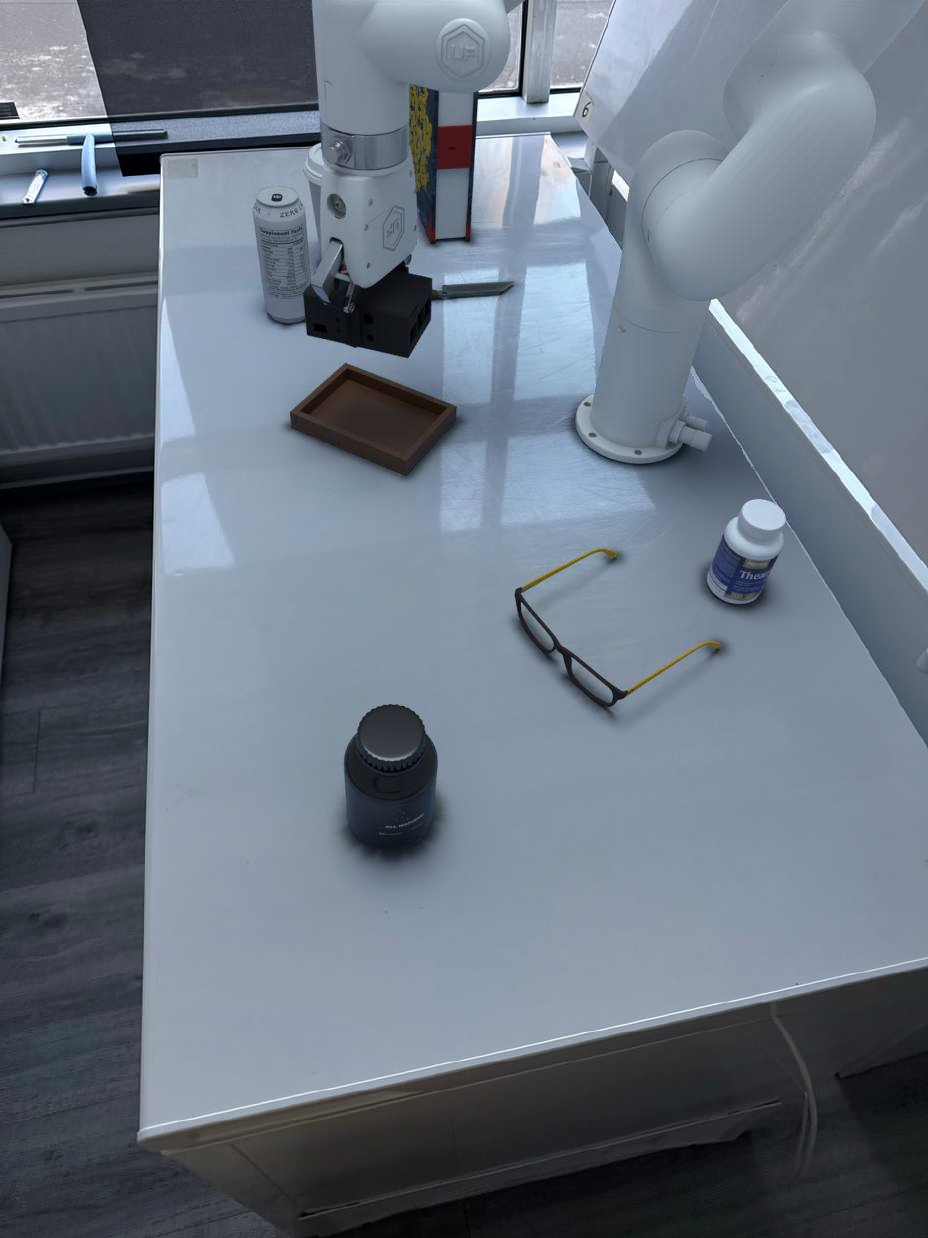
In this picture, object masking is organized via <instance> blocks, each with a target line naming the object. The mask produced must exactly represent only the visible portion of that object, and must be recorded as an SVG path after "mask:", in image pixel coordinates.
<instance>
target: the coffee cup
mask: <svg viewBox="0 0 928 1238" xmlns="http://www.w3.org/2000/svg"><path fill="white" fill-rule="evenodd" d="M304 161H305V162H304V163H303V169H302V172H303V176H304V177H305V178H306V179H307V180H308V185H309V192H310V199H311V204H312V209H313V216H314V217H313V218H314V222H315V229H316V236H317V239H318V240H317V241H318V247H319V253H320V261H321V260H322V252H321V236H320V198H321V180H322V168H323V165H324V161H323V159H322V148H321V142H319V143H317V144H314V145H313V146H312V147H311V148H310V149H309V151H308V155H307V157H306V158H305V160H304Z"/></svg>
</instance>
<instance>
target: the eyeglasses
mask: <svg viewBox="0 0 928 1238" xmlns="http://www.w3.org/2000/svg"><path fill="white" fill-rule="evenodd" d="M597 553H604V554H606V555H607V556H609V557H610V558H612V559H613V558H616V557H617V555H618V553H617V551H614V550H612V549H608V548H605V547H597V548H594V549H592V550H590V551H588V552H586V553H584V554H581V555H579V556H578V557H575V558H573V559H572V560H570V561H568V562H566V563H564V564H562V565H560V566H558V567H556V568H554V569H552V570H550V571H548V572H546V573H544V574H542V575H540V576H538V577H537V578H534V579H533V580H531V581H529V582H527V583H525V584H523V585H521V586H519V587H517V588H516V589H515V590H514V599H515V605H516V611H517V616H518V619H519V621H520V623H521V624H522V626H523V628H524V629H525V631H526V633H527V634H528V636H529V638H530V639H531V640H532V641H533V642H534V643H535V644H536V646H537V647H538V648H539V649H540V650H541V651H542V652H543V653H545V654H547V655H550V654H551V653H553V652H555V651H556V652H557V653H559V654H561V656H562V659H563V662H564V667H565V669H566V672H567V674H568V676H569V678H570V680H571V681H572V682H573V683H574V684H575V685H576V686H577V687H578V688H579V689H580V690H581V691H582V692H583V693H585V694H586V696H588V697H590V699H592V700H594V701H595V702H597V703H598V704H600V705H602V706H604V707H606V708H611V707H613V706H615V705H616V704H617V702H618V701H622V700H624V699H626V697H628V696H629V695H632V693H634V692H635V691H637V690H638V689H640V688H641V687H643V686H644V685H646V684H647V683H648V682H650V681H652V680H653V679H655V678H656V677H658V676H659V675H661V674H662V673H664V672H666V671H667V670H668V669H670V668H671V667H673V666H674V665H676V664H677V663H679V662H681V661H682V660H683V659H685V658H687V657H689V656H690V655H691V654H693V653H695V652H696V651H698V650H699V649H701V648H703V647H706V646H710V647H711V648H713V649H715V650H717V649H719V648H721V646H722V643H721V642H719V641H713V640H706V641H704V642H701V643H700V644H698V645H696V646H694V647H693V648H691V649H689V650H687V651H686V652H685V653H683V654H681V655H680V656H678V657H677V658H675V659H673V660H672V661H671V662H669V663H667V664H666V665H664V666H662V667H660V668H659V669H658V670H656V671H654V672H653V673H651V674H649V675H648V676H646V677H644V678H643V679H641V680H640V681H638V682H637V683H635V684H634V685H632V686H631V687H629V688H627V689H626V690H622V689H620V688H618V687H617V686H616V685H614V684H613V683H611V682H610V681H609V680H607V679H606V678H604V677H603V676H602V675H600V673H598V672H597V671H596V670H595V669H593V668H592V667H591V666H590V665H589V664H588V663H587V662H586V661H584V660H583V659H581V658H580V657H579V656H578V655H577V654H575V653H574V652H573V651H571V650H570V649H568V648H566V647H565V646H563V645H562V644H561V643H560V640H558V638H557V636H556V635H555V634H554V633H553V632H552V630H551V628H549V626H548V625H547V624H546V623H545V622H544V621H543V620H542V619H541V618H540V616H539V615H538V614H537V613H536V611H535V610H534V609H533V608H532V607H531V605H530V604H529V603H528V602H527V600H526V599H525V597H524V596H523V593H524V592H526V591H528V590H530V589H531V588H534V587H535V586H537V585H539V584H541V583H542V582H544V581H546V580H547V579H549V578H551V577H553V576H555V575H557V574H558V573H560V572H562V571H563V570H565V569H567V568H569V567H571V566H573V565H574V564H577V563H578V562H580V561H581V560H584V559H586V558H588V557H590V556H591V555H593V554H597ZM522 605H523V606H524V607H525V608H526V610H527V611H528V612H529V613H530V614H531V616H532V618H534V619H535V620H536V621H537V622H538V624H539V625H540V627H542V629H543V630H544V631H545V632H546V633H547V635H548V636H549V637H550V639H551V640H552V644H553V646H552V648H551V649H548V648H547V647H546V646H544V644H542V643H541V642H540V641H539V640H538V639H537V638H536V636H535V635H534V634H533V632H532V631H531V629H530V627H529V625H528V624H527V622H526V620H525V618H524V614H523V611H522ZM573 660H575V661H576V662H577V663H578V664H579V665H580V666H582V668H585V670H587V671H588V672H589V673H590V674H591V675H593V676H594V677H595V678H596V679H597V680H599V681H600V682H601V683H602V684H603V685H605V686H606V687H607V688H608V689H609V690H610V692H611V694H612V699H611V702H608V701H606V700H604V699H601V698H600V697H598V696H596V695H595V694H593V693H592V692H591V691H590V690H589V689H587V688H586V687H585V686H584V685H583V684H582V683H581V682H580V681H579V680H578V679H577V677H576V676H575V675H574V672H573Z"/></svg>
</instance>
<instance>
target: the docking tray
mask: <svg viewBox="0 0 928 1238" xmlns="http://www.w3.org/2000/svg"><path fill="white" fill-rule="evenodd" d="M457 413H458V406H457V405H455V404H453V403H450V402H448V401H445V400H443V399H440V398H437V397H435V396H432V395H430V394H428V393H425V392H422V391H420V390H417V389H414V388H412V387H409V386H407V385H404V384H402V383H399V382H397V381H394V380H391V379H388V378H387V377H384V376H381V375H378V374H376V373H373V372H370V371H368V370H366V369H363V368H361V367H358V366H356V365H353V364H350V363H348V362H344V363H343V364H342V365H340V367H338V368H337V369H336V370H335V371H334V372H333V373H332V374H331V375H330V376H328V378H326V379H325V380H324V381H322V383H321V384H319V385H318V386H317V387H316V388H315V389H314V390H313V391H312V392H311V393H309V394H307V396H306V397H305V398H304V399H303V400H301V401H300V403H298V404H297V405H296V406H295V407H294V408H293V409H291V410H290V411H289V418H290V419H289V420H290V427H291V428H292V429H295V430H297V431H299V432H302V433H304V434H306V435H309V436H311V437H314V438H316V439H317V440H318V439H319V440H320V441H323V442H325V443H328V444H330V445H333V446H335V447H337V448H340V449H342V450H344V451H346V452H349V453H352V454H354V455H356V456H359V457H361V458H363V459H365V460H369V461H371V462H373V463H374V464H375V463H376V464H378V465H380V466H383V467H385V468H388V469H389V470H392V471H394V472H396V473H399V474H400V475H401V474H402V475H404V476H407V475H409V473H410V472H411V471H413V469H414V468H415V467H416V466H417V464H418V463H419V462H420V461H421V460H422V459H423V458H424V457H425V455H427V454H428V453H429V451H430V450H431V449H432V448H433V447H434V446H435V445H436V444H437V443H438V441H439V440H440V439H441V438H442V437H443V436H444V435H445V434H446V433H447V431H448V430H450V428H451V427H452V426H453V425H454V424H455V423H456V422H457Z"/></svg>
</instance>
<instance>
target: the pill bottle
mask: <svg viewBox="0 0 928 1238" xmlns="http://www.w3.org/2000/svg"><path fill="white" fill-rule="evenodd" d="M786 520H787V518H786V514H785V512H784V510H783V509H782V508H781V507H780V506H779V505H777V504H776V503H774V502H773V501H770V500H768V499H767V500H766V499H761V498H759V499H758V498H756V499H751V500H748V501H747V502H745V503H744V504H743V506H742V507H741V509H740V512H739V513H738V516H735V517H734V518H732V519H731V520H730V521H729V522H728V523H727V524H726V526H725V529H724V531H723V534H722V536H721V539H720V541H719V544H718V546H717V548H716V551H715V554H714V556H713V559H712V561H711V563H710V566H709V568H708V572H707V575H706V582H707V586H708V588H709V589H710V591H711V592H712V593H713V595H714V596H716V597H718V598H719V599H720V600H722V601H724V602H726V603H730V604H735V605H744V604H749V603H751V602H754V601H755V600H756V599H757V598H758V597H759V596H760V594H761V593H762V591H763V588H765V584H766V582H767V580H768V578H769V577H770V574H771V572H772V570H773V568H774V567H775V564H776V561H777V559H778V557H779V555H780V554H781V551H782V549H783V546H784V535H783V532H782V531H783V528H784V526H785V524H786Z"/></svg>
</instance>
